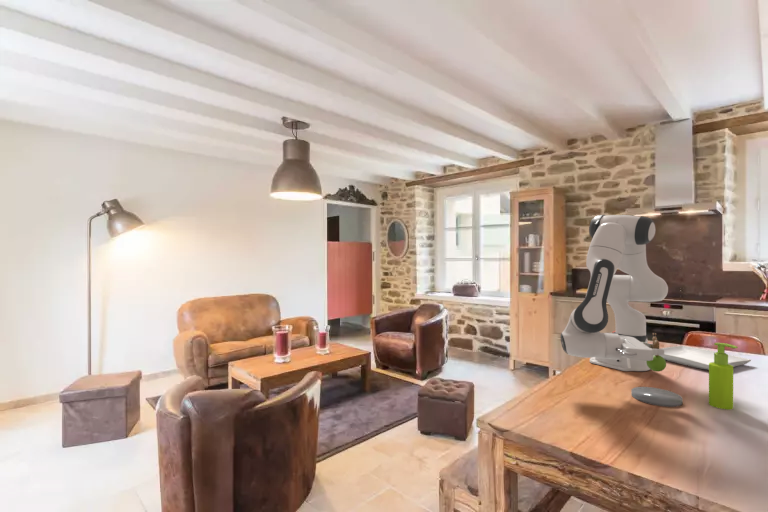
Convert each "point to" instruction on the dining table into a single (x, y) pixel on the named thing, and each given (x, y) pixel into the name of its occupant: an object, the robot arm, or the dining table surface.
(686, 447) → the dining table surface
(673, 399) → the slate coaster
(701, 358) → the square plate
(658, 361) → the snail figurine
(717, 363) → the soap dispenser
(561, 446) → the dining table surface
